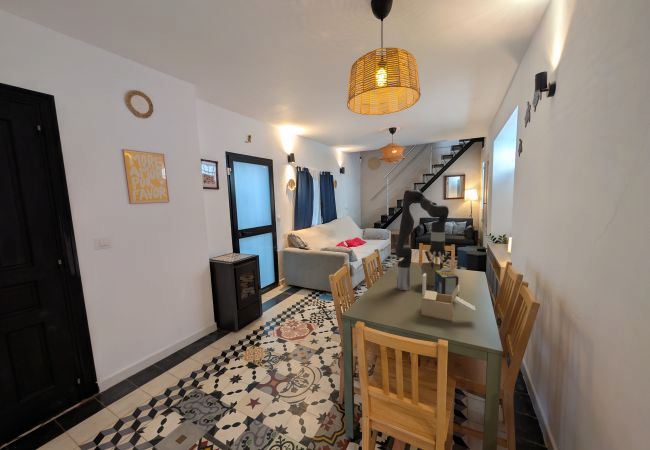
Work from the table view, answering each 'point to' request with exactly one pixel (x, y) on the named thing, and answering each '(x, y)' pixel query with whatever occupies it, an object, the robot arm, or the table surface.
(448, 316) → the carton
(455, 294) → the flap right
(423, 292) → the flap left
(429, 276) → the plant pot
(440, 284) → the protein box
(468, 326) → the table surface
